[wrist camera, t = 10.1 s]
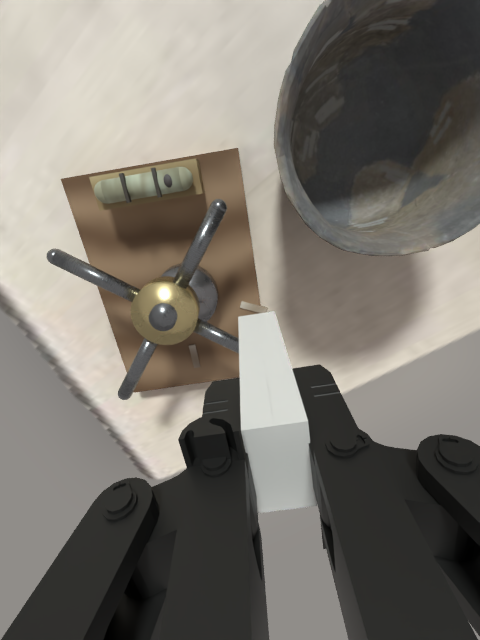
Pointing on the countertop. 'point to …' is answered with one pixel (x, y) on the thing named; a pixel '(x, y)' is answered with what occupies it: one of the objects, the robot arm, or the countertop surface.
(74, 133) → the countertop surface
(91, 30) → the countertop surface
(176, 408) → the countertop surface
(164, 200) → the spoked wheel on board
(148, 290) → the cam capstan
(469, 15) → the grey stone bowl
